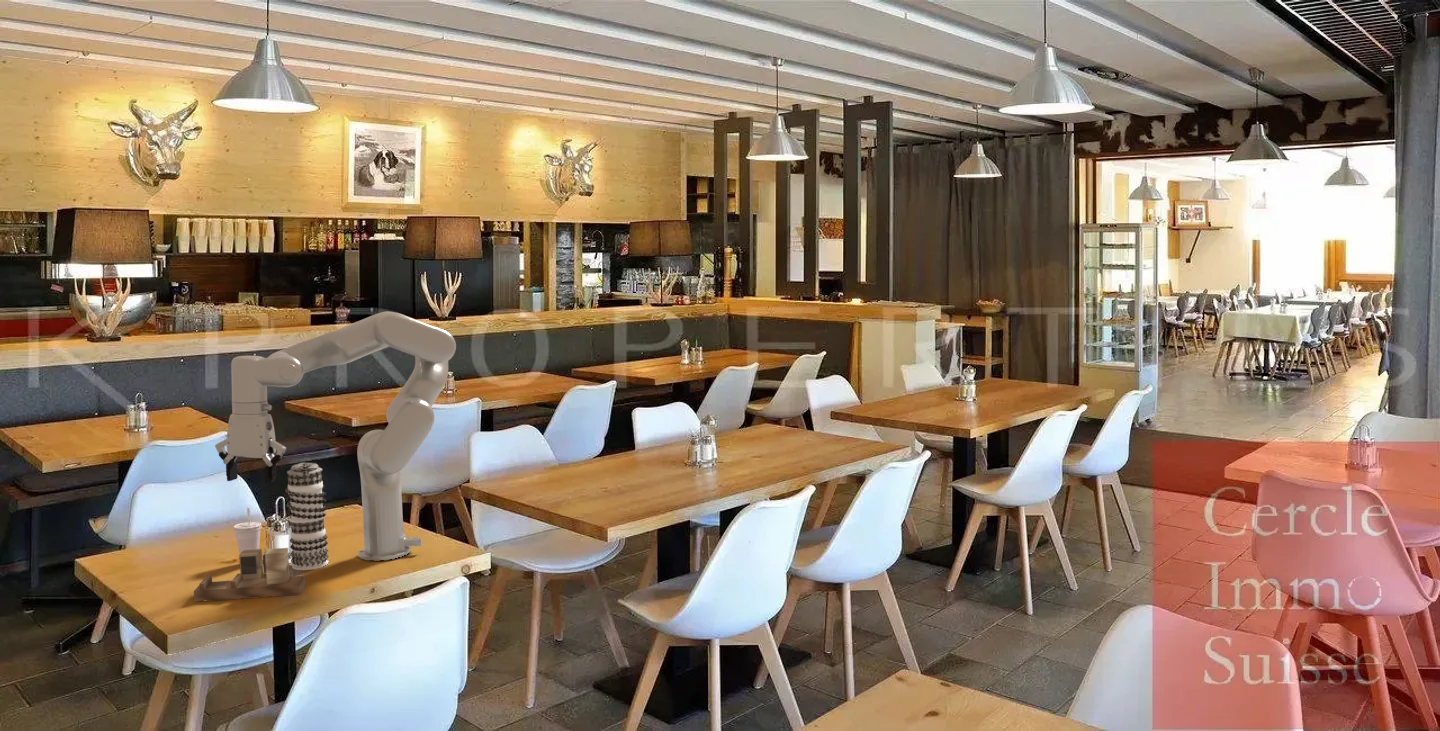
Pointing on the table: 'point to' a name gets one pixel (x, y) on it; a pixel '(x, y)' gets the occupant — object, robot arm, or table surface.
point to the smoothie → (248, 534)
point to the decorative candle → (307, 516)
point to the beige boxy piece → (251, 564)
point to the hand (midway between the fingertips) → (251, 481)
